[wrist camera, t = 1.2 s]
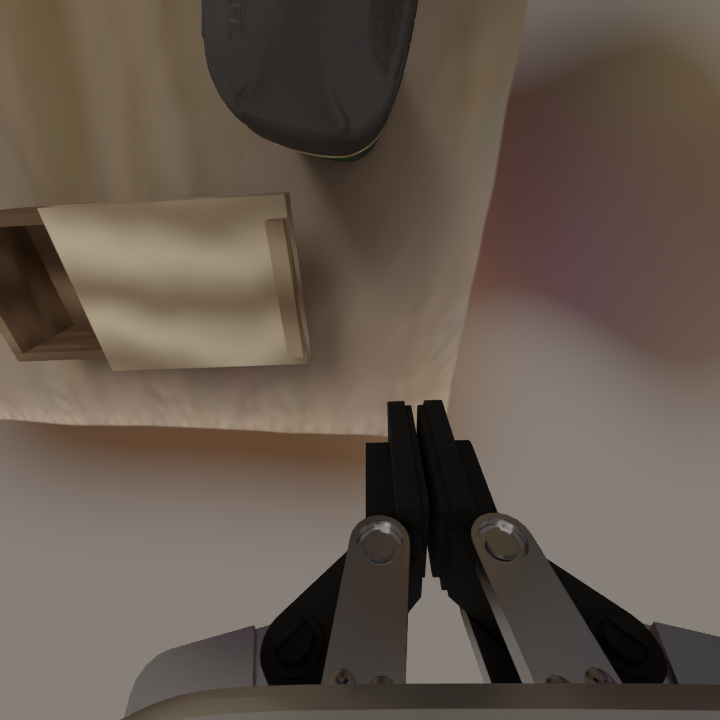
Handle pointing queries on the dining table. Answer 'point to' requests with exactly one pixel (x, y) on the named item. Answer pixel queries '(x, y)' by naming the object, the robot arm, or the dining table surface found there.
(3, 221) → the box
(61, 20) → the dining table surface
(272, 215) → the lid
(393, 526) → the robot arm
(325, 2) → the coffee jar
